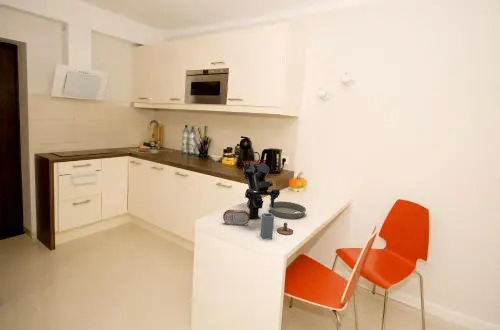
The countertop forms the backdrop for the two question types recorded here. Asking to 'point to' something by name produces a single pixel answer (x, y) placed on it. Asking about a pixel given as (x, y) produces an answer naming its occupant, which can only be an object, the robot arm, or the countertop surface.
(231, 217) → the tin
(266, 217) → the sleeve
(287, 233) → the pin base
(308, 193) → the countertop surface
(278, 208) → the cake pan
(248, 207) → the robot arm
